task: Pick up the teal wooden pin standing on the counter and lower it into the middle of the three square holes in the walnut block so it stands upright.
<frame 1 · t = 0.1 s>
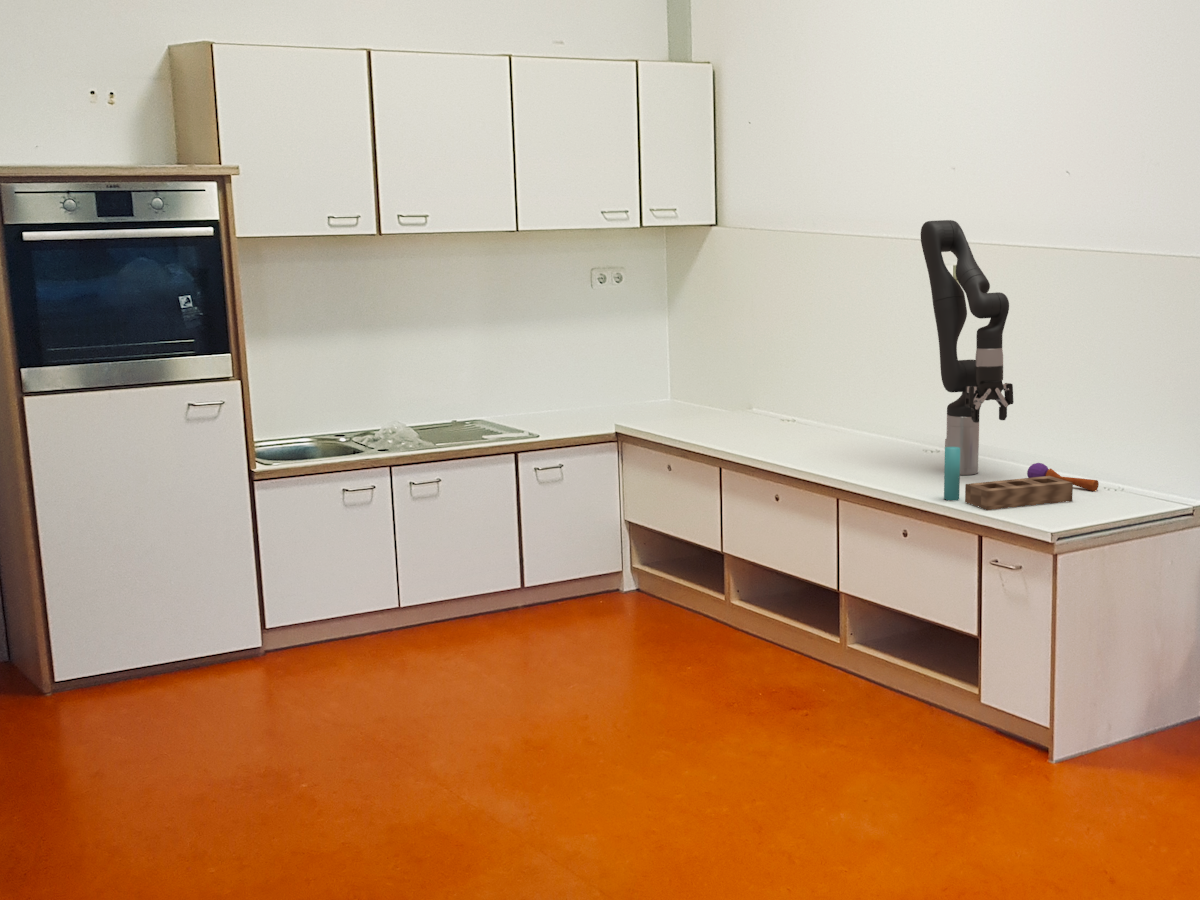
hand: (989, 421, 379), 17 cm above the worktop, tool pointing down, fingers open, 8 cm apart
pin: (951, 499, 360), on the worktop
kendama: (1061, 487, 372), on the worktop
bore block: (1018, 501, 354), on the worktop
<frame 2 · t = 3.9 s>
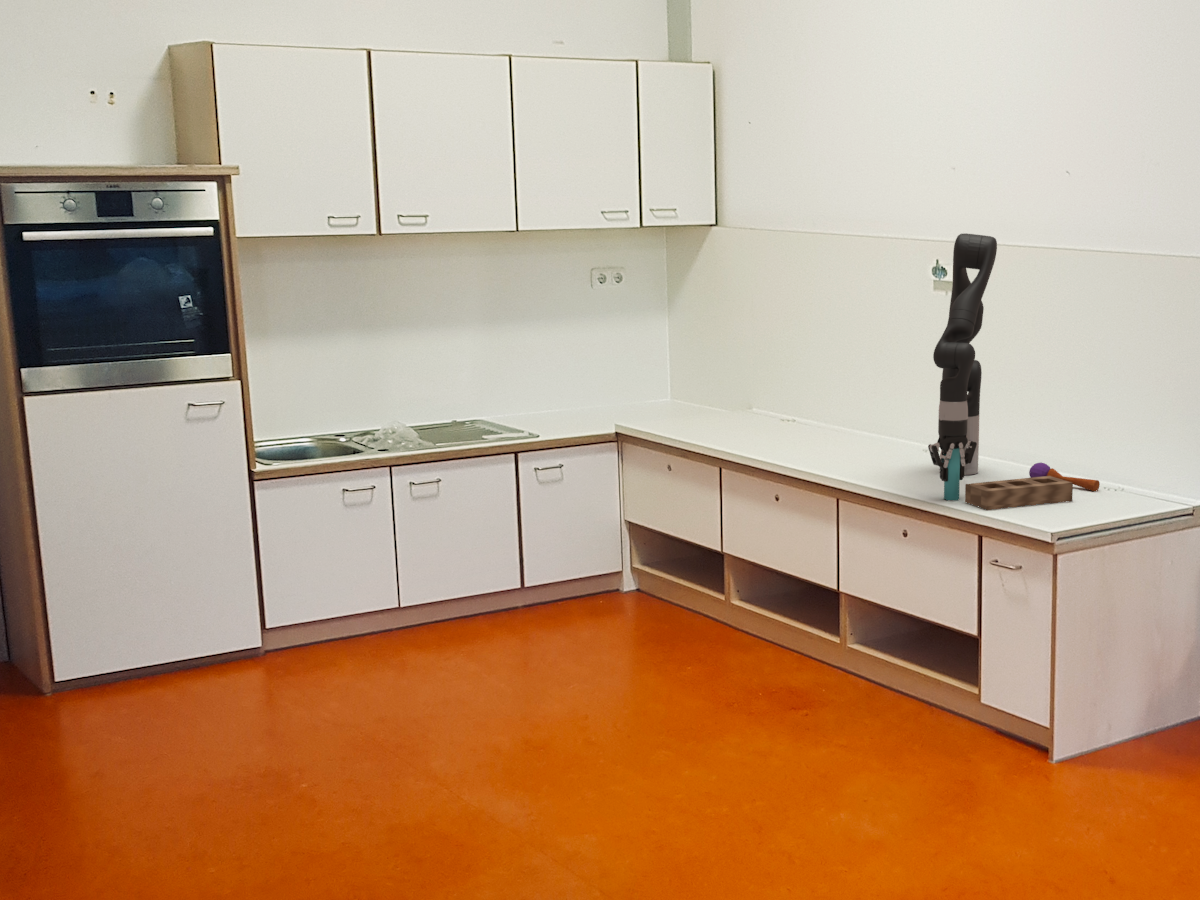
hand: (951, 480, 359), 5 cm above the worktop, tool pointing down, fingers closed on pin, 4 cm apart
pin: (951, 499, 360), on the worktop, touching gripper
everything else where it was.
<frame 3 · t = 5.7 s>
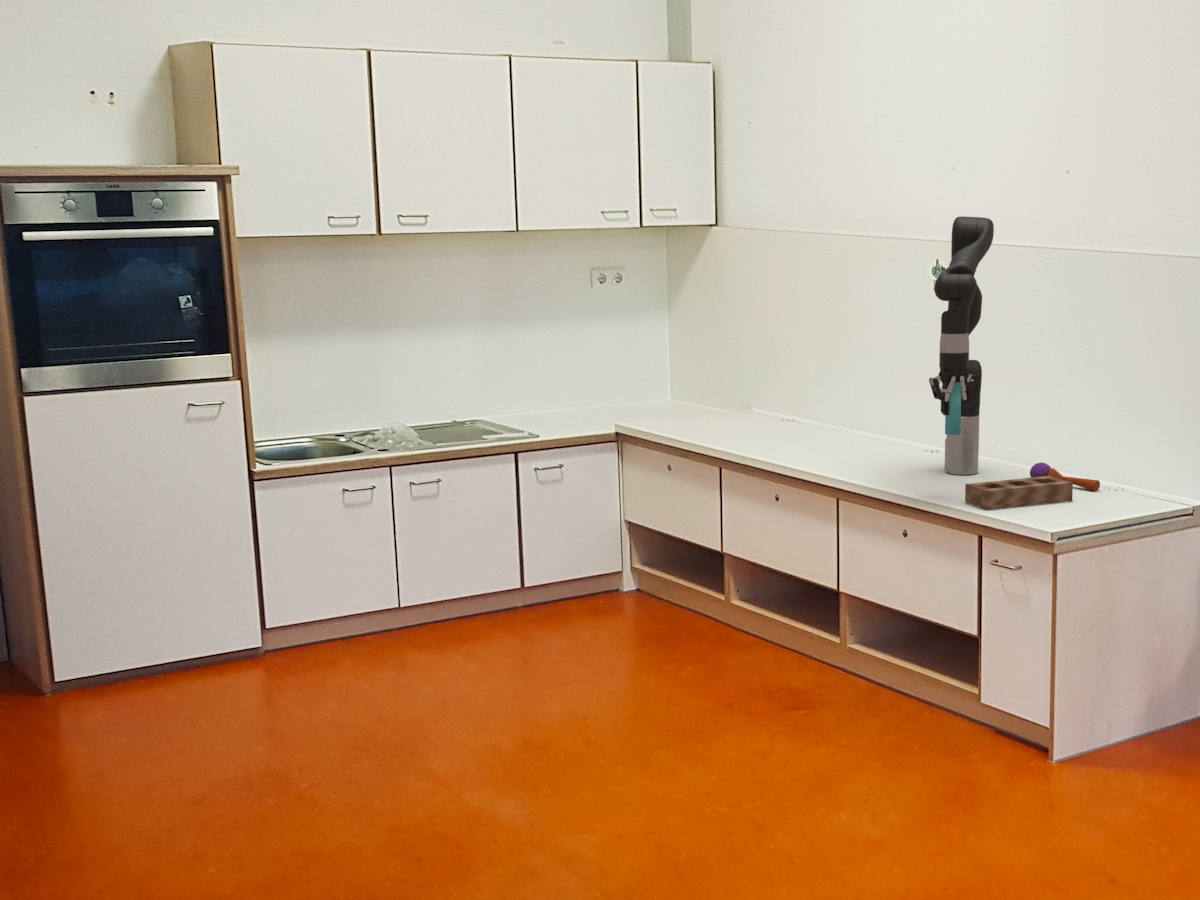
hand: (952, 414, 356), 23 cm above the worktop, tool pointing down, fingers closed on pin, 4 cm apart
pin: (952, 433, 357), point 18 cm above the worktop, touching gripper
everything else where it was.
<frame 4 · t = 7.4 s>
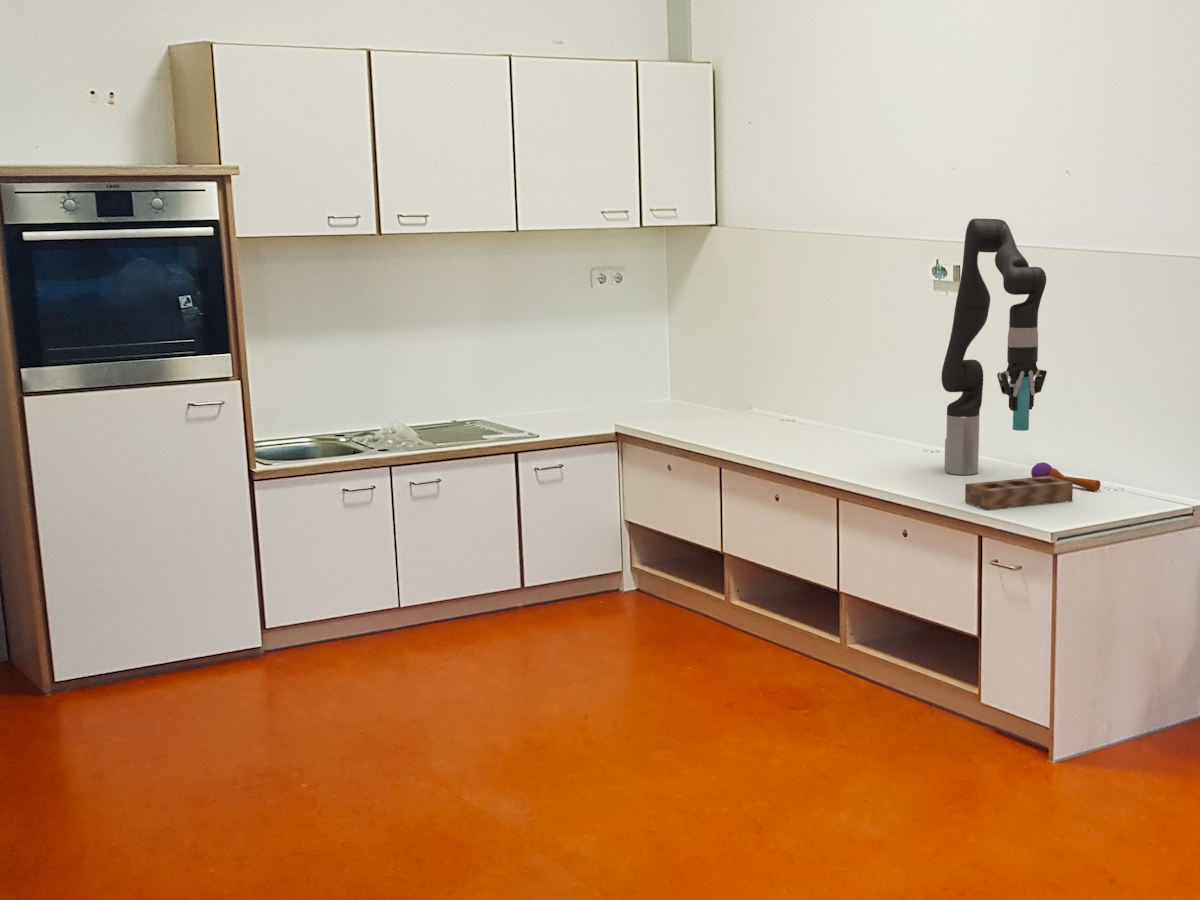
hand: (1020, 409, 350), 25 cm above the worktop, tool pointing down, fingers closed on pin, 4 cm apart
pin: (1020, 429, 351), point 19 cm above the worktop, touching gripper
everything else where it was.
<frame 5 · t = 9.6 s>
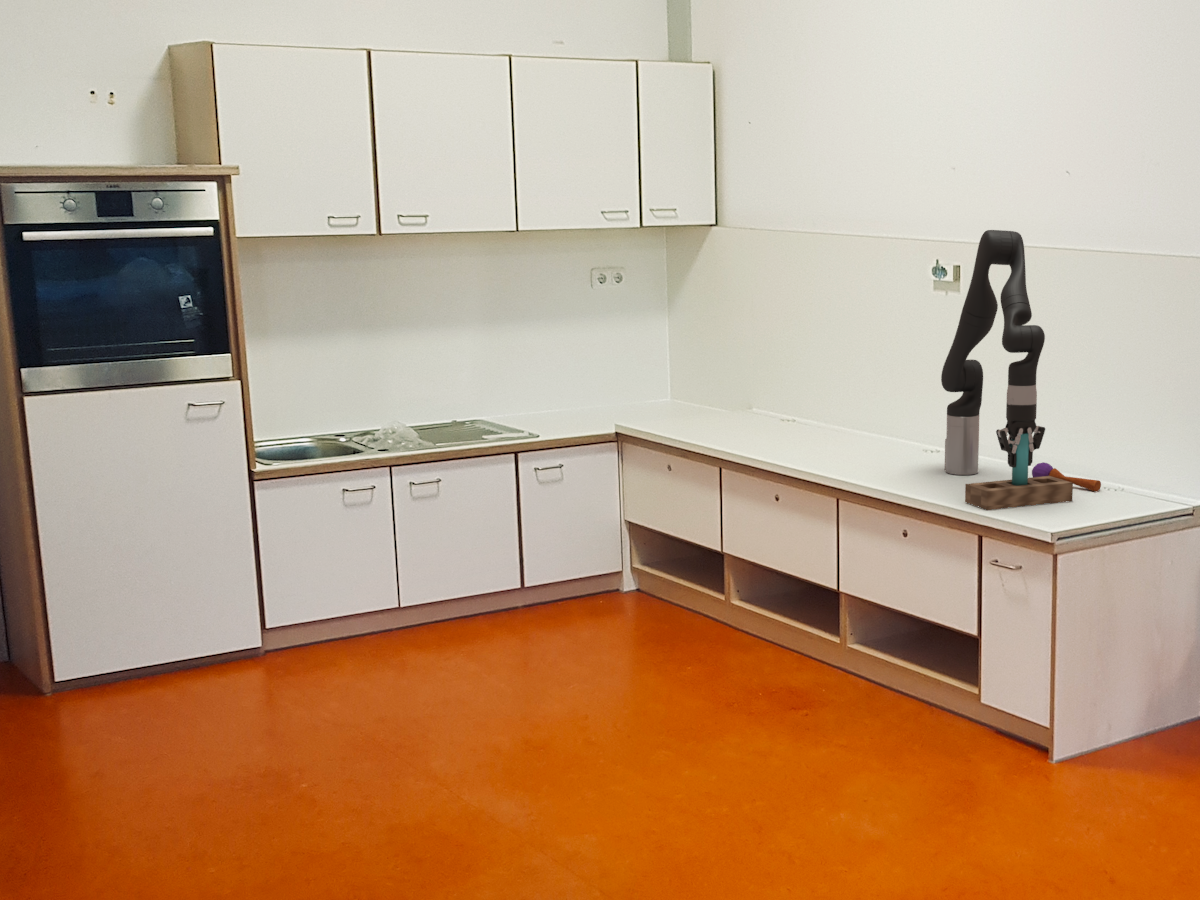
hand: (1019, 465, 353), 10 cm above the worktop, tool pointing down, fingers closed on pin, 4 cm apart
pin: (1019, 485, 353), point 4 cm above the worktop, touching gripper
everything else where it was.
when the fingers open (7 cm above the worktop, at t = 11.3 s): pin stays where it is, resting on bore block.
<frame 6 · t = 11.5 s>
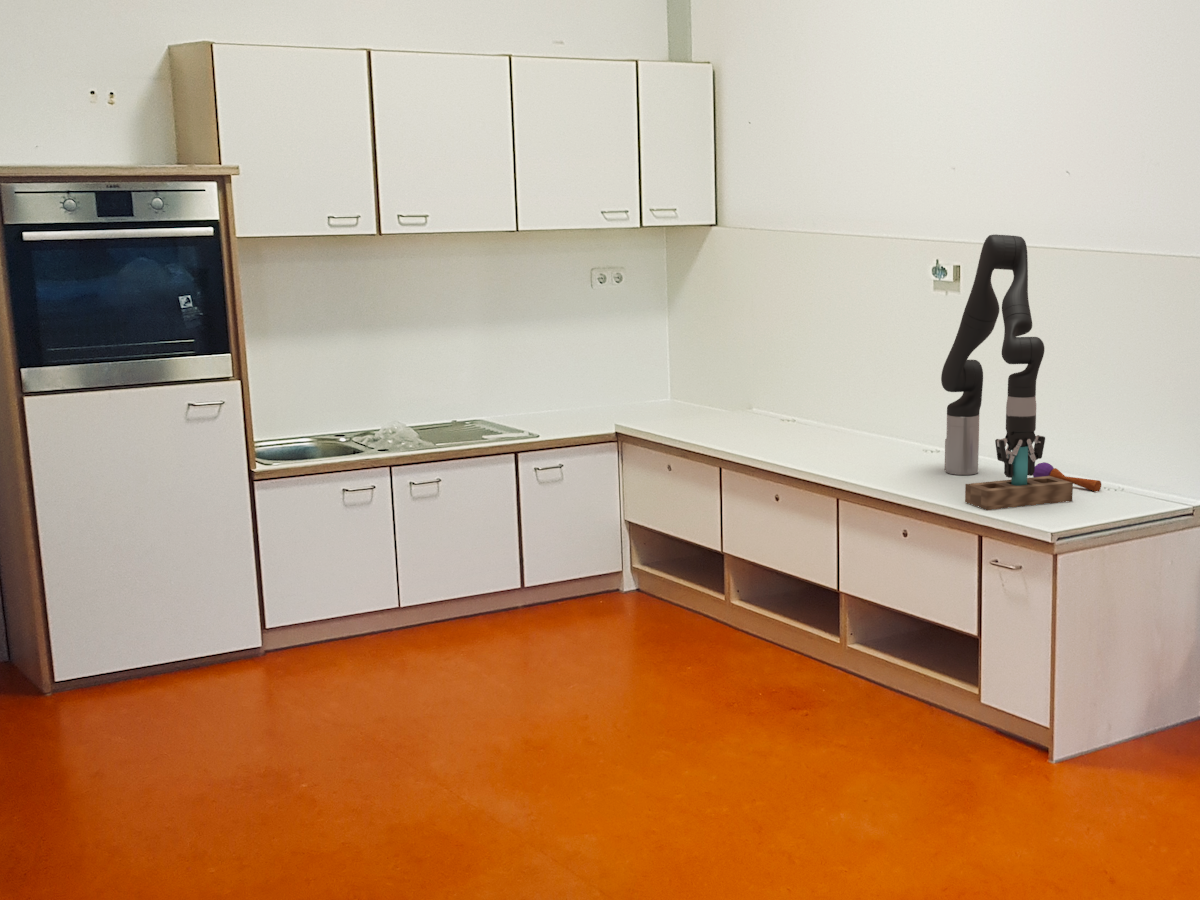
hand: (1019, 475, 353), 7 cm above the worktop, tool pointing down, fingers open, 5 cm apart
pin: (1018, 498, 354), point 1 cm above the worktop, touching bore block
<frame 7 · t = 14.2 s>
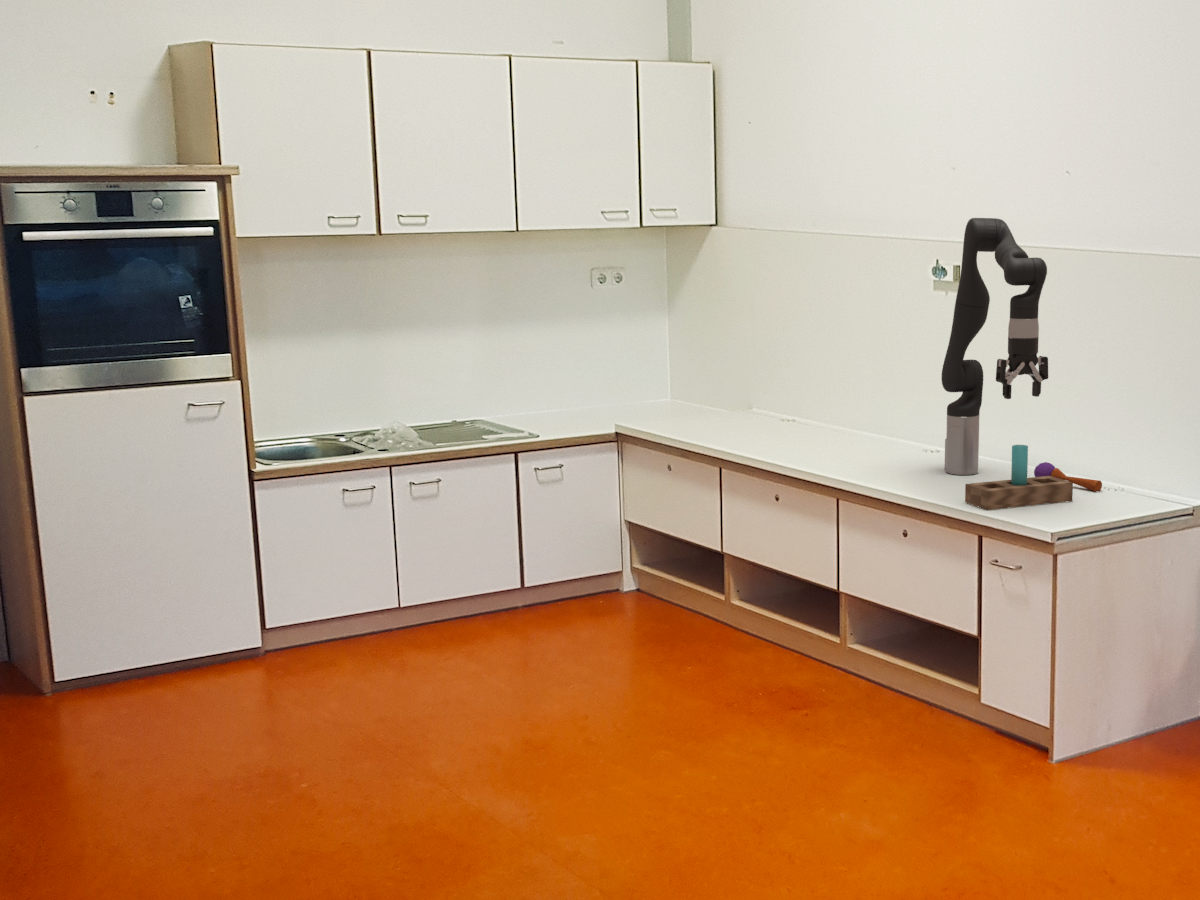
hand: (1021, 397, 349), 28 cm above the worktop, tool pointing down, fingers open, 8 cm apart
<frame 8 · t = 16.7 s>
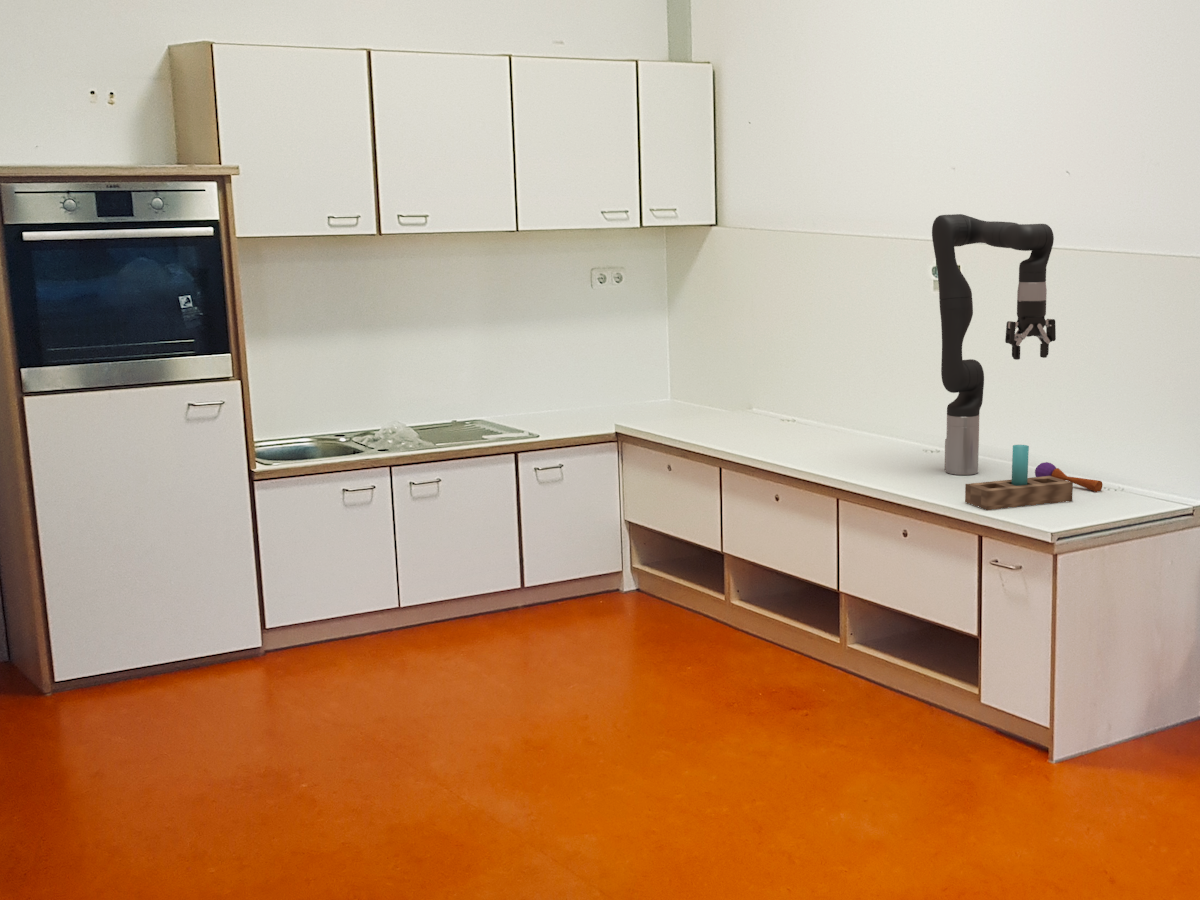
hand: (1029, 358, 364), 36 cm above the worktop, tool pointing down, fingers open, 8 cm apart
at the end: pin 0.1 cm from the bore block (horizontally); pin point 1.0 cm above the worktop; pin tilted 1° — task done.
